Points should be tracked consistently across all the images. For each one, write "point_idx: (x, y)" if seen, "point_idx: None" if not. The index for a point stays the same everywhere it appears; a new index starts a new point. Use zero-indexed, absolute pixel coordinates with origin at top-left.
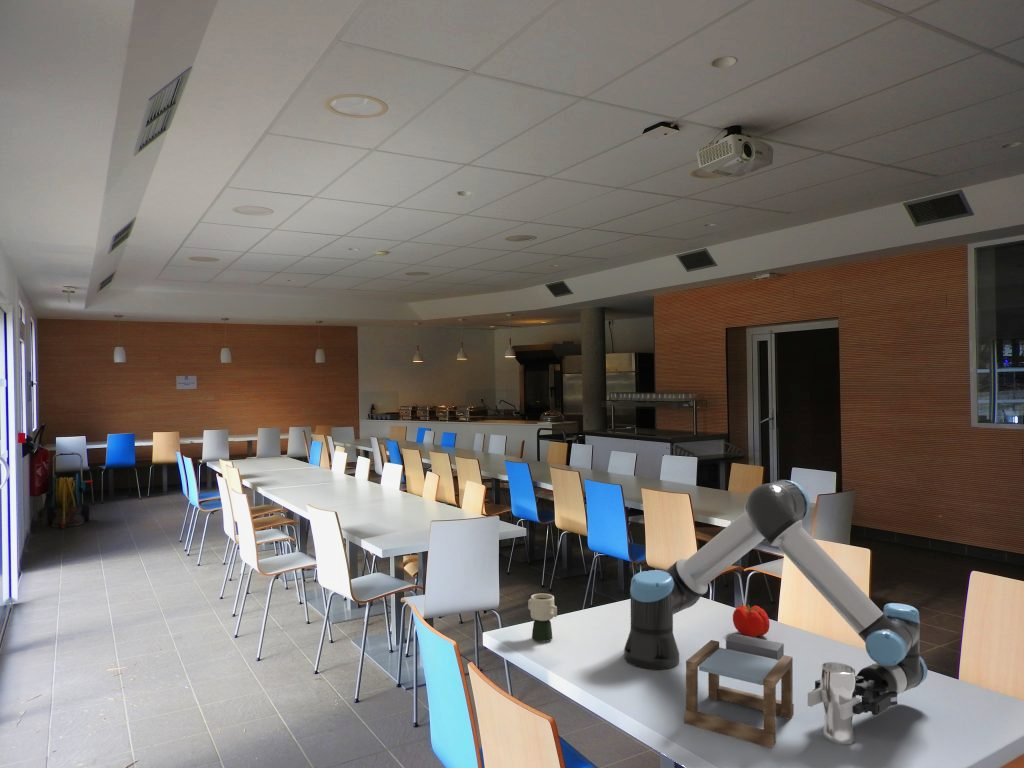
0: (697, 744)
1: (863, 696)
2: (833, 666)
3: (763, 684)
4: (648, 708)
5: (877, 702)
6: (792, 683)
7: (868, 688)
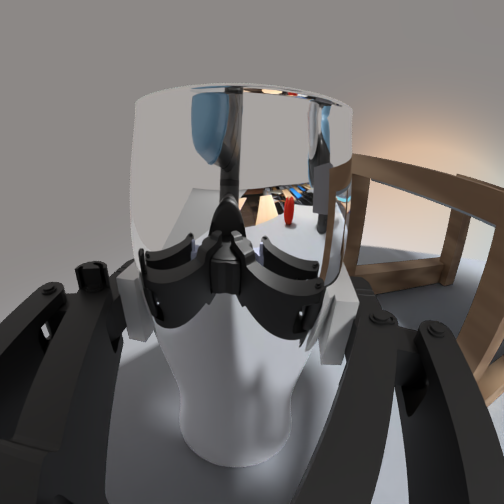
0: (376, 255)
1: (97, 266)
2: (325, 135)
3: (373, 179)
4: (481, 274)
5: (36, 294)
6: (492, 335)
7: (34, 451)
